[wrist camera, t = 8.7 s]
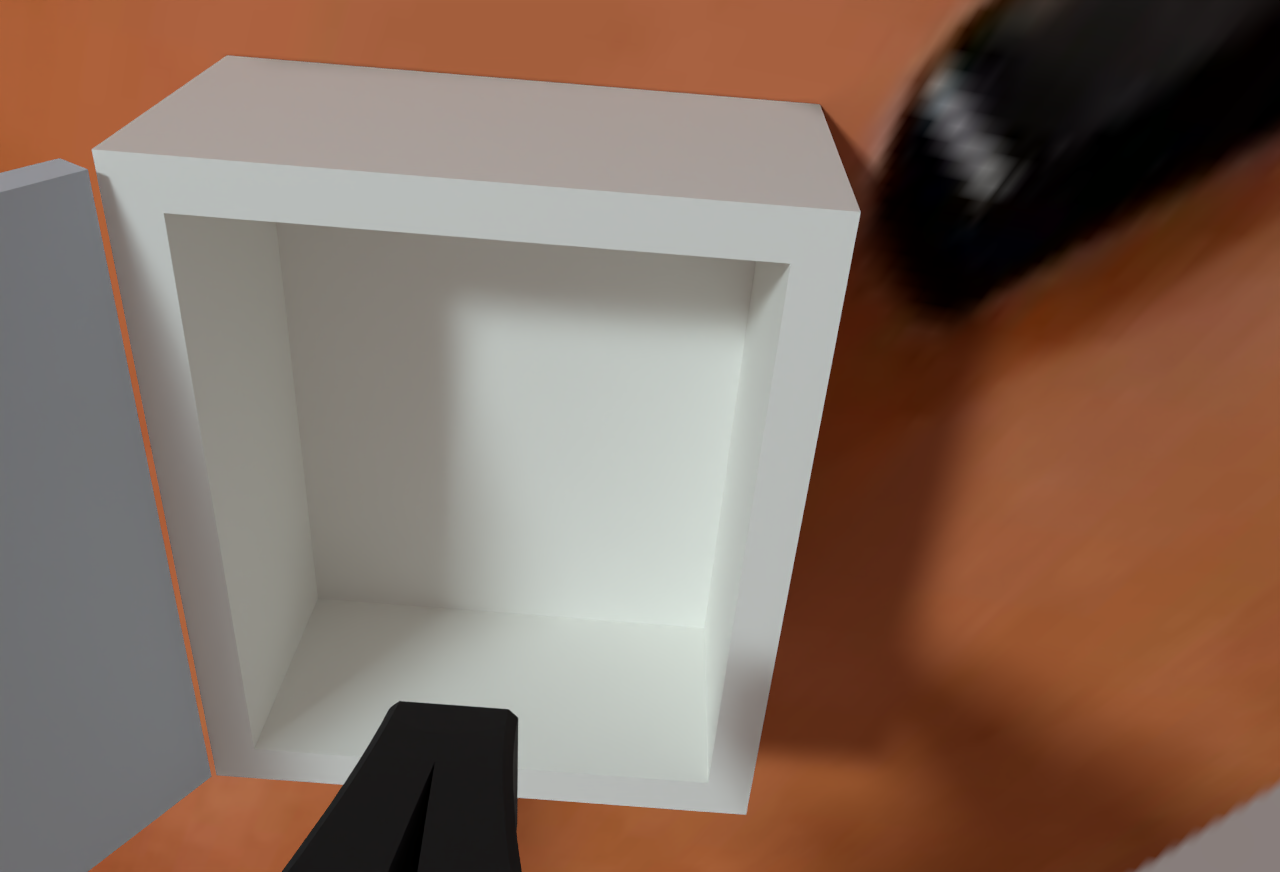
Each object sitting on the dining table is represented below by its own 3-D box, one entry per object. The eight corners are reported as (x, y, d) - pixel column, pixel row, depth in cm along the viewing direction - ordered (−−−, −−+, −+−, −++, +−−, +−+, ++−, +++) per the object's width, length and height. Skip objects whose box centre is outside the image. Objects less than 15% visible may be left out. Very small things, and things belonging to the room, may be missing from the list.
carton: (819, 104, 19) (860, 212, 14) (735, 633, 25) (746, 814, 21) (226, 55, 18) (91, 148, 14) (295, 599, 25) (216, 775, 21)
